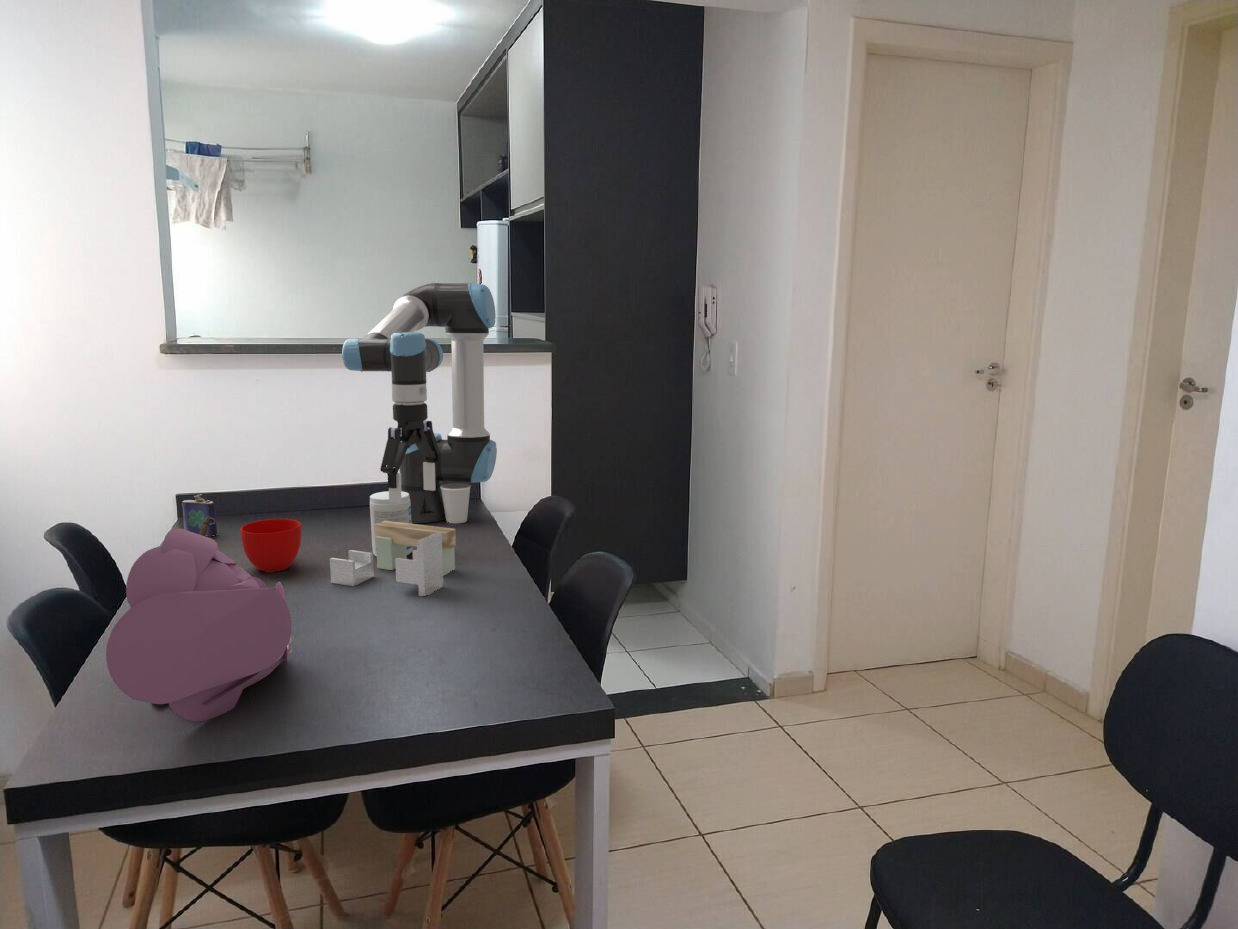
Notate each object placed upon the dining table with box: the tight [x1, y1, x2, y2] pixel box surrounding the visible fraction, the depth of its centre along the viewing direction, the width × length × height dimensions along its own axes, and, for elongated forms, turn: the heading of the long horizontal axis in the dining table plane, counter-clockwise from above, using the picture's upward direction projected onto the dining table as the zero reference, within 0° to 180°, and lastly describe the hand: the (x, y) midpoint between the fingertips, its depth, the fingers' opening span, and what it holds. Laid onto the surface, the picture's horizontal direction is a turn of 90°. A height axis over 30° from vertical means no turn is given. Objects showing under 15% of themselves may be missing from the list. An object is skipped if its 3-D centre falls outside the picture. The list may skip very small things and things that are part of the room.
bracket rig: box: [329, 533, 444, 597], centre depth 195 cm, size 7×24×12 cm, turn 69°
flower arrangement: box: [105, 528, 293, 722], centre depth 143 cm, size 35×24×28 cm
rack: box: [375, 536, 456, 577], centre depth 207 cm, size 7×17×8 cm, turn 69°
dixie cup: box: [440, 482, 472, 524], centre depth 249 cm, size 8×8×10 cm
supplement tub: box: [369, 490, 414, 557], centre depth 217 cm, size 10×10×15 cm
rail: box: [374, 521, 457, 551], centre depth 206 cm, size 4×19×4 cm, turn 69°
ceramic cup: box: [240, 518, 302, 573], centre depth 208 cm, size 13×17×10 cm
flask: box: [181, 493, 218, 537], centre depth 233 cm, size 9×3×11 cm, turn 76°
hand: (413, 496), depth 204 cm, fingers open, 13 cm apart
